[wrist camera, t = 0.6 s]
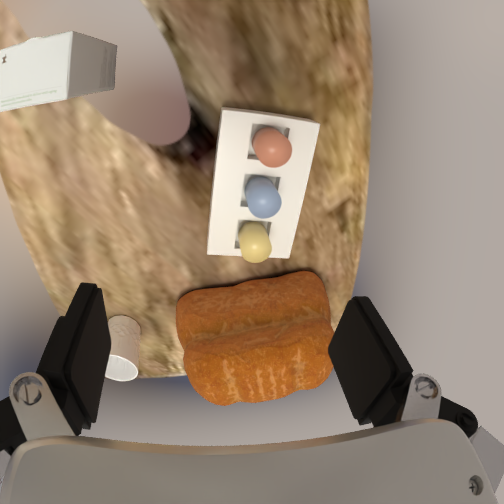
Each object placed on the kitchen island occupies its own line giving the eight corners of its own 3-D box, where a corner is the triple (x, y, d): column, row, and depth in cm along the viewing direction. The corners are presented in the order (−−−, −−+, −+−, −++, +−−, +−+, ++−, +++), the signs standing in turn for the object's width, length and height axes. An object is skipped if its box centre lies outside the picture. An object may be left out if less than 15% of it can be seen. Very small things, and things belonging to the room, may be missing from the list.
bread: (320, 323, 60) (347, 394, 46) (193, 347, 59) (195, 423, 45) (321, 262, 52) (360, 337, 37) (169, 290, 51) (162, 375, 36)
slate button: (246, 175, 38) (250, 186, 35) (277, 178, 39) (284, 189, 35) (242, 203, 40) (245, 217, 37) (272, 206, 41) (278, 219, 38)
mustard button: (239, 220, 41) (243, 235, 38) (268, 222, 42) (274, 237, 39) (236, 245, 43) (239, 262, 40) (264, 247, 44) (268, 263, 41)
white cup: (101, 310, 51) (89, 352, 43) (142, 314, 53) (135, 357, 44) (108, 338, 55) (99, 378, 47) (145, 341, 57) (140, 383, 49)
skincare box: (61, 95, 31) (-6, 116, 18) (63, 49, 27) (-5, 49, 14) (117, 89, 32) (66, 103, 19) (120, 41, 28) (71, 28, 16)
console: (221, 106, 36) (222, 109, 33) (311, 119, 38) (320, 124, 35) (206, 241, 46) (207, 254, 43) (283, 245, 48) (288, 258, 46)
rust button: (254, 125, 34) (259, 131, 31) (286, 129, 35) (295, 136, 32) (249, 156, 37) (254, 165, 33) (280, 159, 37) (288, 169, 34)
